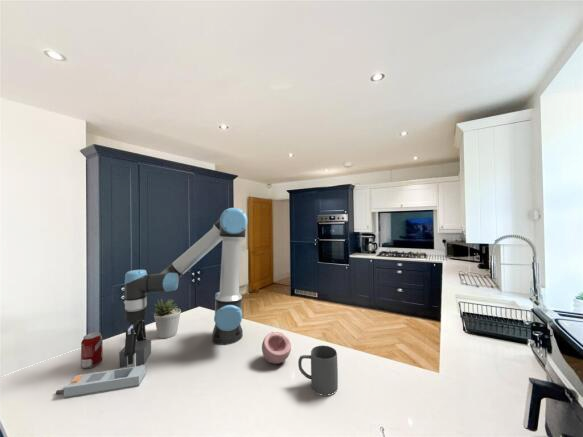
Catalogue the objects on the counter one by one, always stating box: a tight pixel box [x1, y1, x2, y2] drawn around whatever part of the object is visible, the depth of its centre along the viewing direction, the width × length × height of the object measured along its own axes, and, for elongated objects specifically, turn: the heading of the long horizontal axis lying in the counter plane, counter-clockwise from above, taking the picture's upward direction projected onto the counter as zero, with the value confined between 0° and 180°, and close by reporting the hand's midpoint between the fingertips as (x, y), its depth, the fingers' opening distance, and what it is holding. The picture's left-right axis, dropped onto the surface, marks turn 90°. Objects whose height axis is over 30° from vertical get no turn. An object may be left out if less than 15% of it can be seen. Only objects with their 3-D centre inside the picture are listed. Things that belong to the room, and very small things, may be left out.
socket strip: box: [55, 364, 147, 399], centre depth 84 cm, size 26×7×4 cm, turn 105°
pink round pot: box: [261, 331, 292, 365], centre depth 98 cm, size 12×12×12 cm
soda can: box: [80, 331, 104, 369], centre depth 98 cm, size 7×7×12 cm
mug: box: [297, 345, 339, 396], centre depth 82 cm, size 14×9×12 cm
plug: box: [118, 338, 152, 369], centre depth 96 cm, size 9×8×8 cm
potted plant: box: [149, 298, 182, 339], centre depth 124 cm, size 13×14×20 cm
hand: (136, 364), depth 96 cm, fingers closed on plug, 8 cm apart
